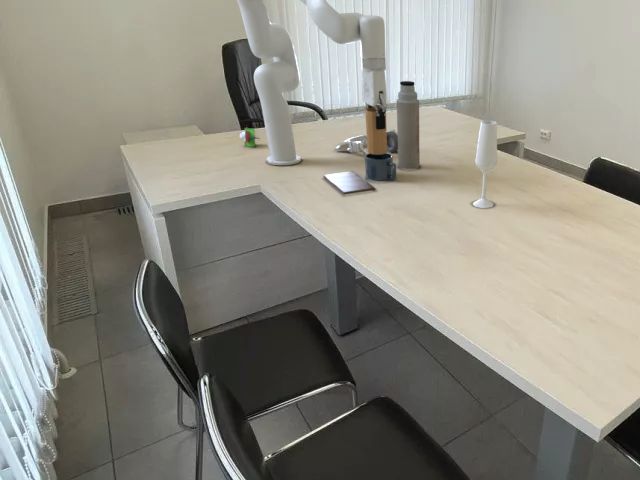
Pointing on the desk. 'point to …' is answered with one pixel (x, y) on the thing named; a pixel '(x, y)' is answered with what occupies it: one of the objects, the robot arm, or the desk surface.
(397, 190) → the desk surface
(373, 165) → the mug
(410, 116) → the thermos bottle
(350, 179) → the serving board
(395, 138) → the headphones
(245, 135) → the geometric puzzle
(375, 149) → the paper cup
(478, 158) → the champagne flute
